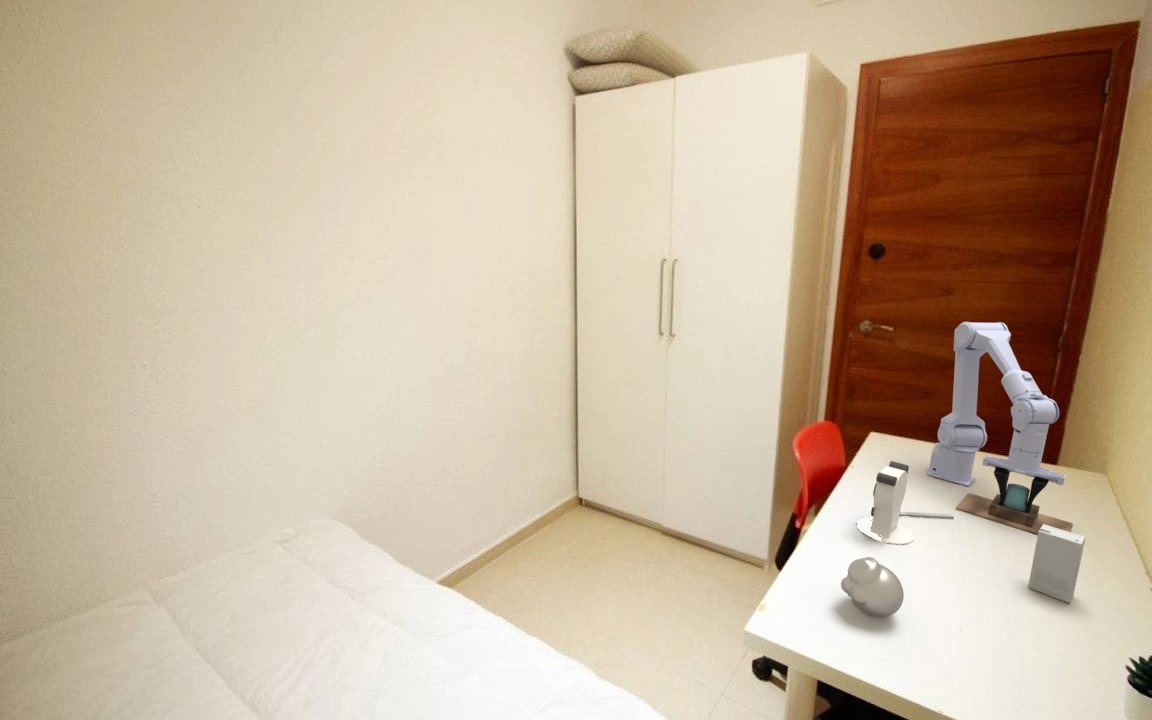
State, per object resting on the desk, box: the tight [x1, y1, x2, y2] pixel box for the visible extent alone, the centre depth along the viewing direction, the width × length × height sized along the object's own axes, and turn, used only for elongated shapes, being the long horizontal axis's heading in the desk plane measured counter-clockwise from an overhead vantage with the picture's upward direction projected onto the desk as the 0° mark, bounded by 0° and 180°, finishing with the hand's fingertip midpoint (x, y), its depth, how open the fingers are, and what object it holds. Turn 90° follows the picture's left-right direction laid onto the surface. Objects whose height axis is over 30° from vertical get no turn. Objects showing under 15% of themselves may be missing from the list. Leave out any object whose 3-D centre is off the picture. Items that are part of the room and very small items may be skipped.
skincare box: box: [1027, 524, 1086, 604], centre depth 94 cm, size 6×4×12 cm
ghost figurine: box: [840, 556, 905, 618], centre depth 89 cm, size 9×10×10 cm
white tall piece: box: [869, 460, 915, 545], centre depth 115 cm, size 12×11×15 cm
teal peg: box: [1003, 483, 1031, 513], centre depth 122 cm, size 4×4×7 cm
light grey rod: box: [899, 511, 955, 520], centre depth 122 cm, size 12×1×1 cm, turn 85°
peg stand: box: [955, 492, 1073, 536], centre depth 122 cm, size 20×12×3 cm, turn 41°
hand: (1015, 502), depth 122 cm, fingers open, 4 cm apart
